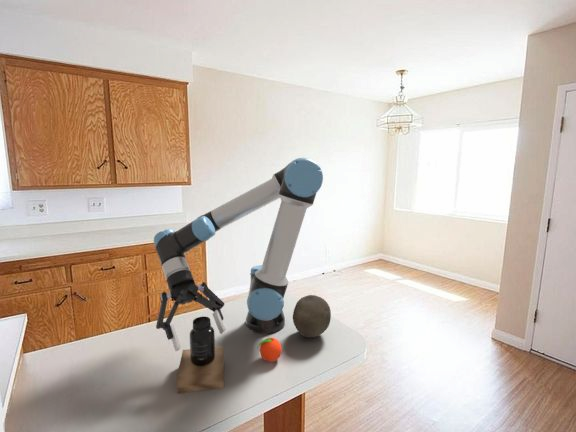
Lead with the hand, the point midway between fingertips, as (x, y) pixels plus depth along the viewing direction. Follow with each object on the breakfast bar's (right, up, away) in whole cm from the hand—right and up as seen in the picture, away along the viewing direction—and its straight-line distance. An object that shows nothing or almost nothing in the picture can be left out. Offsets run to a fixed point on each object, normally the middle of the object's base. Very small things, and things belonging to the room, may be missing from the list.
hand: (201, 340), depth 85 cm
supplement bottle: (0, -6, +2) cm, 6 cm away
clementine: (+18, -10, +10) cm, 23 cm away
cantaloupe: (+33, -9, +24) cm, 42 cm away
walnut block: (0, -11, +2) cm, 11 cm away
